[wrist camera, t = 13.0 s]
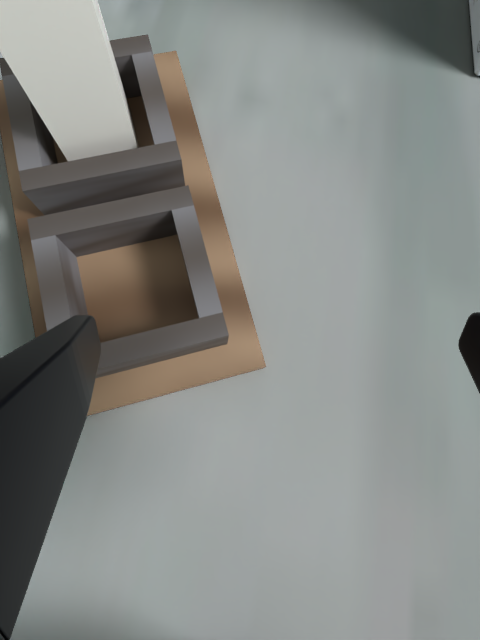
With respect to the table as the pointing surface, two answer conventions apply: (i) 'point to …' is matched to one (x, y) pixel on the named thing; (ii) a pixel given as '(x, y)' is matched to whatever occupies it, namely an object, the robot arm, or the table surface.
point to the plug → (68, 73)
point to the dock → (131, 239)
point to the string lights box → (475, 32)
